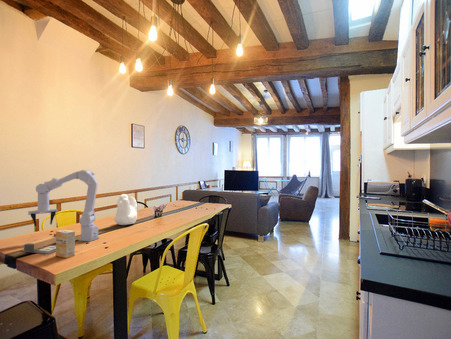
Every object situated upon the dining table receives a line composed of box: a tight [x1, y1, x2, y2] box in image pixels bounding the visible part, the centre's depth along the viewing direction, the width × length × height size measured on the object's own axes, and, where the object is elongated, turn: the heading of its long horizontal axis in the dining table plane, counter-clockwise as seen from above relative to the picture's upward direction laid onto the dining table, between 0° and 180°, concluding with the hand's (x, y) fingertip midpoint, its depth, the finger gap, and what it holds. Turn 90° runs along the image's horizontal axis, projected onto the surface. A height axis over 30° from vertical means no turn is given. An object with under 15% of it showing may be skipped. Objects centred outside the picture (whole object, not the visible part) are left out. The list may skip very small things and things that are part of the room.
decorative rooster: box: [114, 193, 139, 226], centre depth 197 cm, size 25×16×25 cm, turn 159°
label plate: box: [21, 244, 56, 255], centre depth 134 cm, size 18×12×1 cm, turn 78°
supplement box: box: [55, 228, 76, 259], centre depth 125 cm, size 8×5×13 cm, turn 69°
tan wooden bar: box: [23, 233, 56, 251], centre depth 135 cm, size 18×4×5 cm, turn 168°
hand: (43, 225), depth 149 cm, fingers open, 7 cm apart
